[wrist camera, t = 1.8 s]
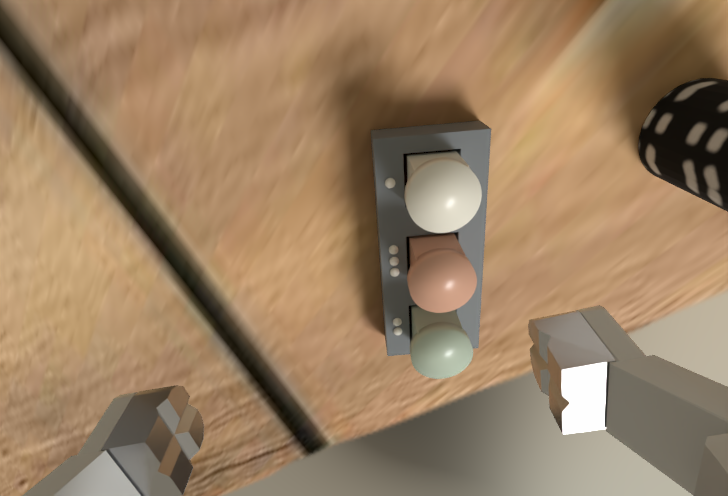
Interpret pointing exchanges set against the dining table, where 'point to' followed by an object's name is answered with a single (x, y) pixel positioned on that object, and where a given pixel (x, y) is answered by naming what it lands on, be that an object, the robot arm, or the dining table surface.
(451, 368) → the button two dots
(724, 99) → the spotted tube
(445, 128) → the button panel
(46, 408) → the dining table surface
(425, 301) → the pink dome knob
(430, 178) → the button one dot
